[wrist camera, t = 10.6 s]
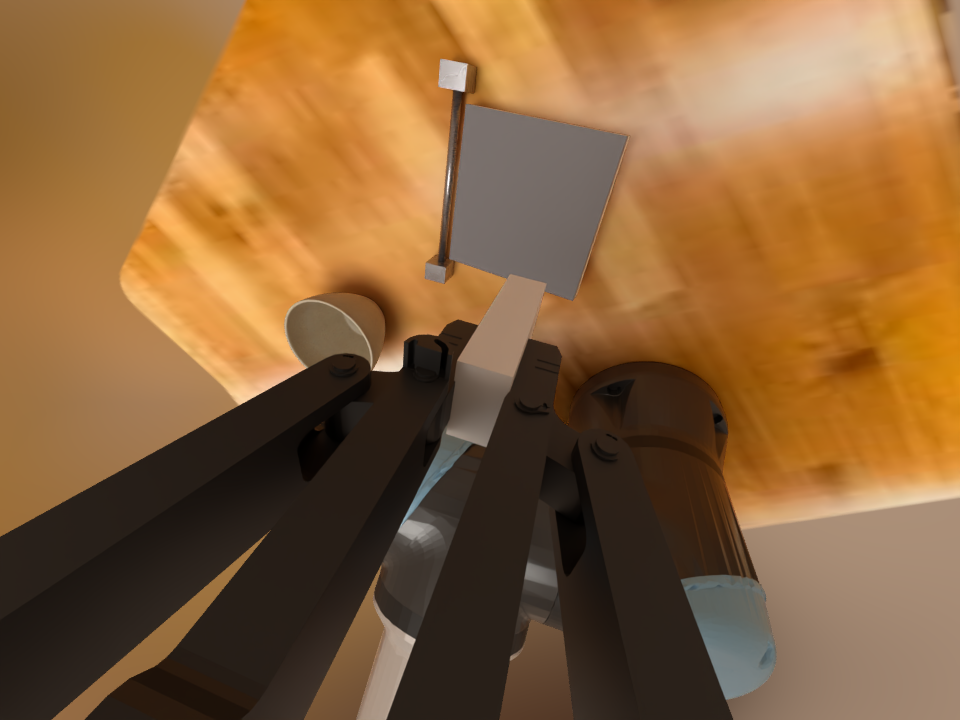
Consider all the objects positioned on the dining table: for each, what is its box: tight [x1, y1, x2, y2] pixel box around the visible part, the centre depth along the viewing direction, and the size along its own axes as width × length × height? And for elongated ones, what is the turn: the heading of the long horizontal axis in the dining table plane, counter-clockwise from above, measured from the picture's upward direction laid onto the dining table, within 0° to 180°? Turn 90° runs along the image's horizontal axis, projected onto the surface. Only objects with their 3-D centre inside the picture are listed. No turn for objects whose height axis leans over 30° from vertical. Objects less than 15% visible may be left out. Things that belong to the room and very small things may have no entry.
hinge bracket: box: [425, 59, 477, 284], centre depth 32 cm, size 2×17×2 cm, turn 171°
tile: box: [449, 104, 630, 301], centre depth 30 cm, size 12×12×2 cm
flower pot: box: [284, 293, 385, 371], centre depth 40 cm, size 10×10×7 cm
